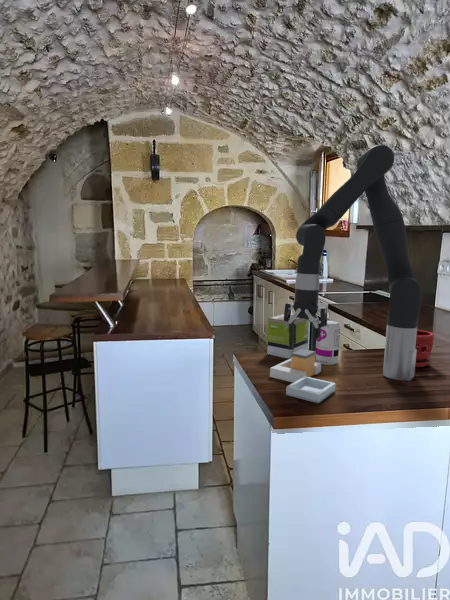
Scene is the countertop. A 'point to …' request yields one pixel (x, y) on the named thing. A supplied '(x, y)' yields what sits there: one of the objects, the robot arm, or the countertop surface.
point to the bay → (290, 371)
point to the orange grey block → (304, 361)
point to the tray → (310, 389)
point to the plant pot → (423, 347)
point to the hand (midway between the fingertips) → (303, 336)
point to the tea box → (286, 336)
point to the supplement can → (328, 344)
